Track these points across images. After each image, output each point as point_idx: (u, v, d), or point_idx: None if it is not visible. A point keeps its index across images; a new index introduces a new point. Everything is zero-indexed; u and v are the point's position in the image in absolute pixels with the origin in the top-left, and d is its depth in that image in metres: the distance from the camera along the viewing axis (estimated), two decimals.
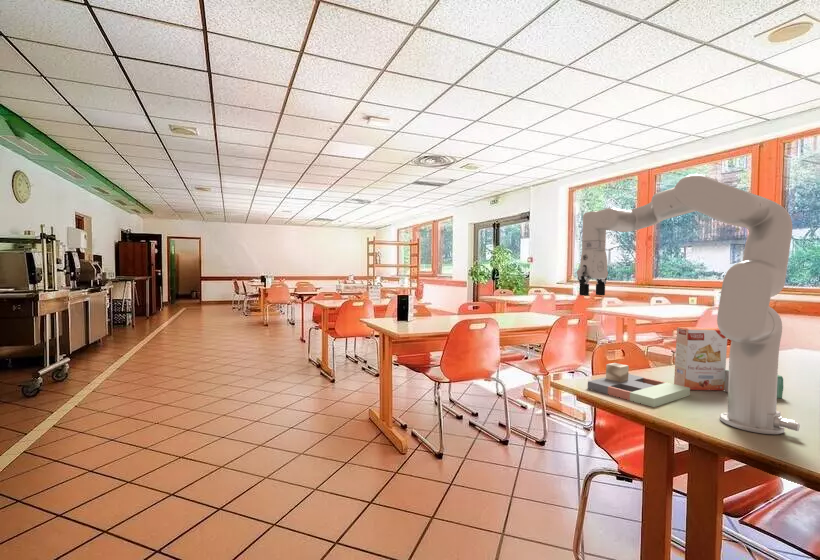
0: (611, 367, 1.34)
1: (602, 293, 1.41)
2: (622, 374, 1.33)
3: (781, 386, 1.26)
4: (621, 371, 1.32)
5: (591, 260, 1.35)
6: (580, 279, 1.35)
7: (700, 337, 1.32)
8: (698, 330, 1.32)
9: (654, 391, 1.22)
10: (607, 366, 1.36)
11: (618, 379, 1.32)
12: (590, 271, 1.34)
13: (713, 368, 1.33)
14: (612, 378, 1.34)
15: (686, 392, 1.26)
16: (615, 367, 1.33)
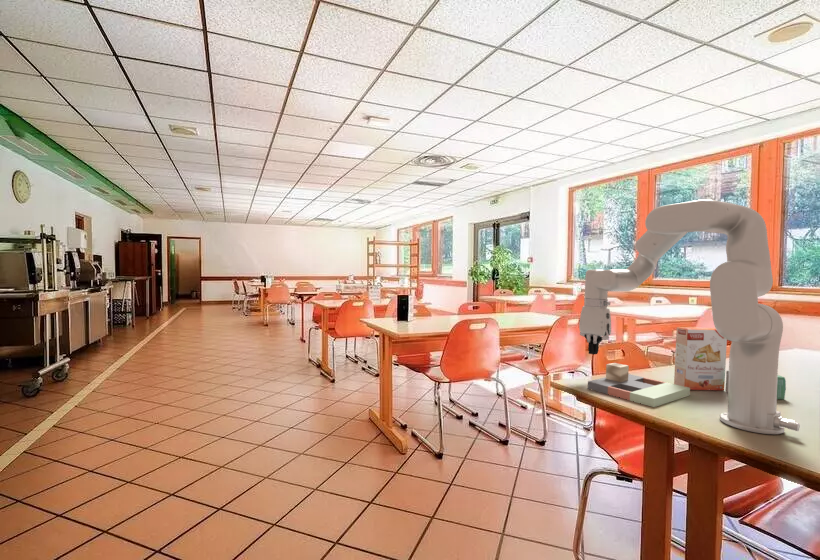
0: (611, 367, 1.34)
1: None
2: (622, 374, 1.33)
3: (783, 387, 1.25)
4: (621, 371, 1.32)
5: (610, 318, 1.40)
6: (601, 340, 1.40)
7: (700, 337, 1.32)
8: (698, 330, 1.32)
9: (654, 391, 1.22)
10: (607, 366, 1.36)
11: (618, 379, 1.32)
12: (610, 329, 1.40)
13: (713, 368, 1.33)
14: (612, 378, 1.34)
15: (686, 392, 1.26)
16: (615, 367, 1.33)
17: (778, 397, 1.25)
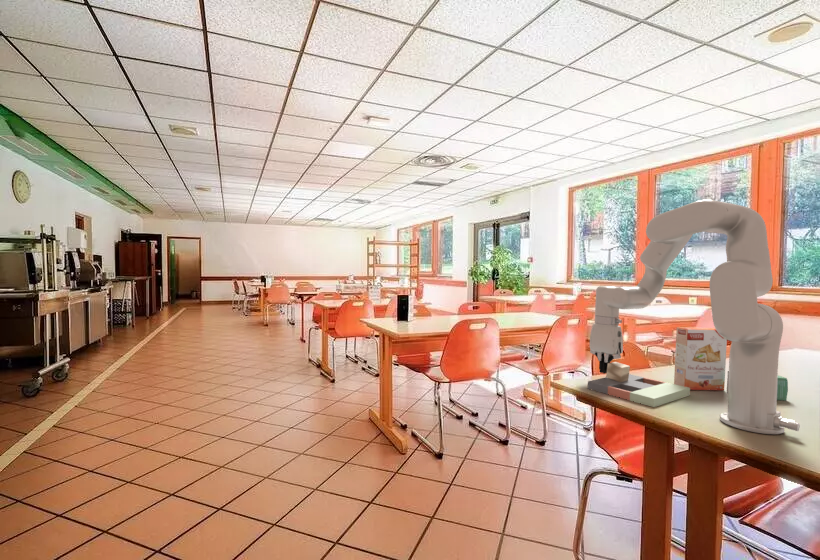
0: (612, 366, 1.34)
1: None
2: (622, 374, 1.32)
3: (785, 388, 1.24)
4: (622, 371, 1.32)
5: None
6: (612, 358, 1.37)
7: (700, 337, 1.32)
8: (698, 330, 1.32)
9: (654, 391, 1.22)
10: (608, 365, 1.35)
11: (618, 379, 1.32)
12: (622, 347, 1.36)
13: (713, 368, 1.33)
14: (612, 377, 1.34)
15: (686, 392, 1.26)
16: (616, 367, 1.33)
17: (780, 398, 1.24)
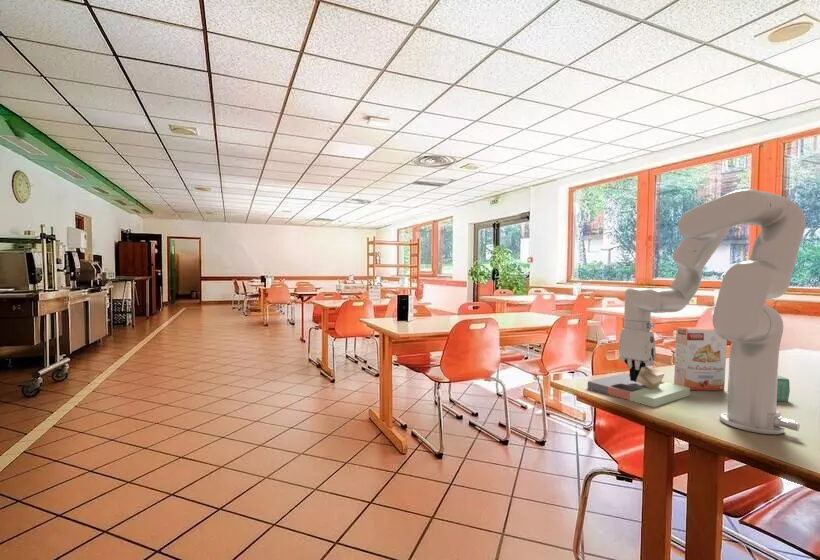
0: (646, 372, 1.25)
1: None
2: (655, 382, 1.24)
3: (787, 389, 1.23)
4: (656, 379, 1.23)
5: (654, 342, 1.27)
6: (644, 366, 1.28)
7: (700, 337, 1.32)
8: (698, 330, 1.32)
9: (654, 391, 1.22)
10: (642, 369, 1.26)
11: (650, 386, 1.24)
12: (655, 354, 1.27)
13: (713, 368, 1.33)
14: (643, 383, 1.26)
15: (686, 392, 1.26)
16: (651, 373, 1.24)
17: (781, 399, 1.23)
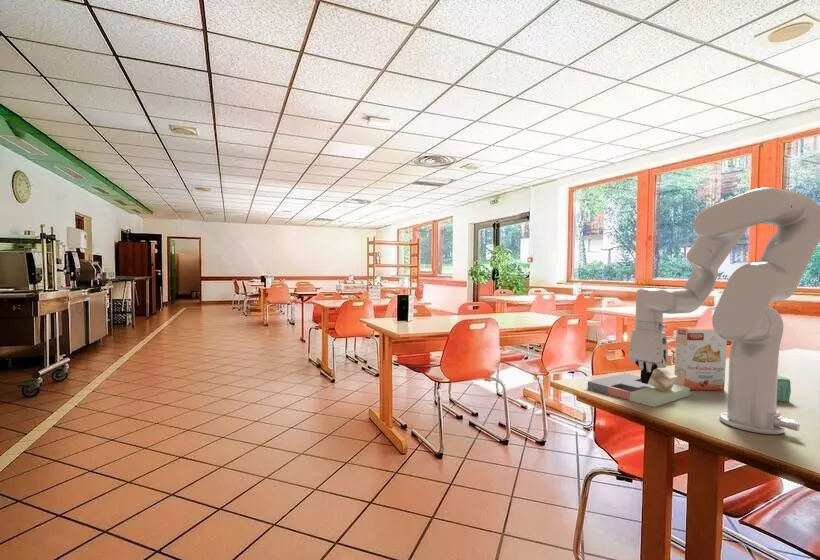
0: (659, 374, 1.22)
1: None
2: (668, 385, 1.21)
3: (788, 389, 1.22)
4: (669, 382, 1.20)
5: (666, 343, 1.24)
6: (656, 368, 1.25)
7: (700, 337, 1.32)
8: (698, 330, 1.32)
9: (654, 391, 1.22)
10: (654, 372, 1.23)
11: (662, 389, 1.21)
12: (667, 355, 1.24)
13: (713, 368, 1.33)
14: (655, 385, 1.23)
15: (686, 392, 1.26)
16: (663, 376, 1.21)
17: (782, 399, 1.22)
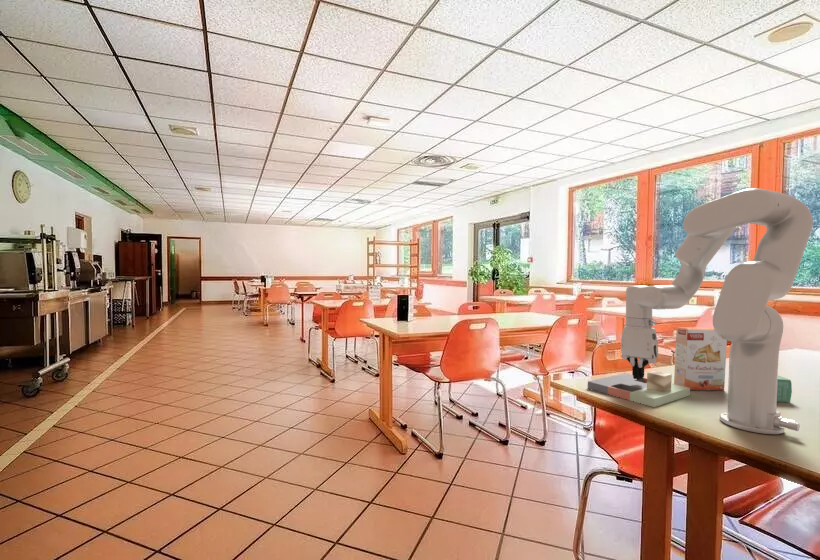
0: (653, 376, 1.24)
1: None
2: (666, 384, 1.22)
3: (789, 390, 1.22)
4: (665, 380, 1.21)
5: None
6: (647, 363, 1.27)
7: (700, 337, 1.32)
8: (698, 330, 1.32)
9: (654, 391, 1.22)
10: (648, 375, 1.25)
11: (662, 389, 1.22)
12: (657, 351, 1.26)
13: (713, 368, 1.33)
14: (654, 388, 1.23)
15: (686, 392, 1.26)
16: (658, 376, 1.22)
17: (783, 400, 1.22)
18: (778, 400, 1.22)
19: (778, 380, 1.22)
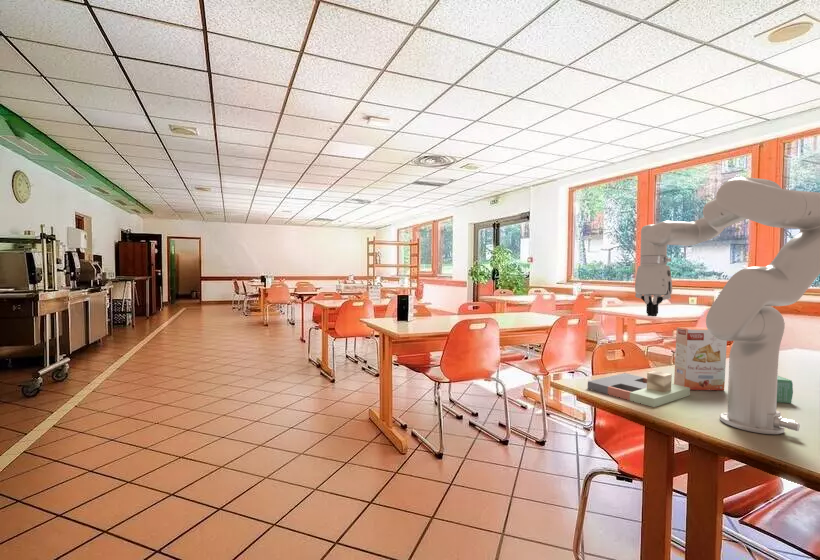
0: (653, 376, 1.24)
1: None
2: (666, 384, 1.22)
3: (790, 391, 1.21)
4: (665, 380, 1.21)
5: None
6: (661, 300, 1.30)
7: (700, 337, 1.32)
8: (698, 330, 1.32)
9: (654, 391, 1.22)
10: (648, 375, 1.25)
11: (662, 389, 1.22)
12: (671, 288, 1.30)
13: (713, 368, 1.33)
14: (654, 388, 1.23)
15: (686, 392, 1.26)
16: (658, 376, 1.22)
17: (784, 401, 1.21)
18: (779, 401, 1.21)
19: (779, 380, 1.21)
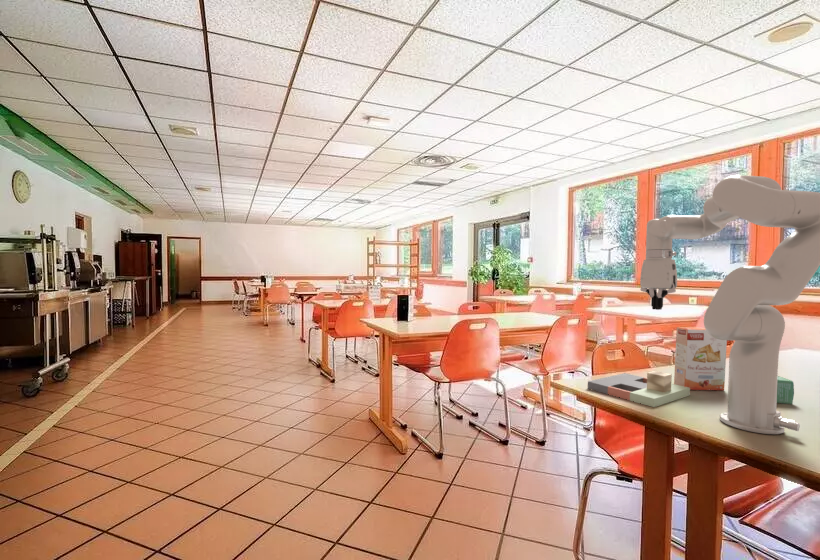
0: (653, 376, 1.24)
1: None
2: (666, 384, 1.22)
3: (791, 391, 1.20)
4: (665, 380, 1.21)
5: None
6: (666, 293, 1.32)
7: (700, 337, 1.32)
8: (698, 330, 1.32)
9: (654, 391, 1.22)
10: (648, 375, 1.25)
11: (662, 389, 1.22)
12: (676, 281, 1.31)
13: (713, 368, 1.33)
14: (654, 388, 1.23)
15: (686, 392, 1.26)
16: (658, 376, 1.22)
17: (785, 401, 1.20)
18: (780, 401, 1.21)
19: (780, 381, 1.21)
